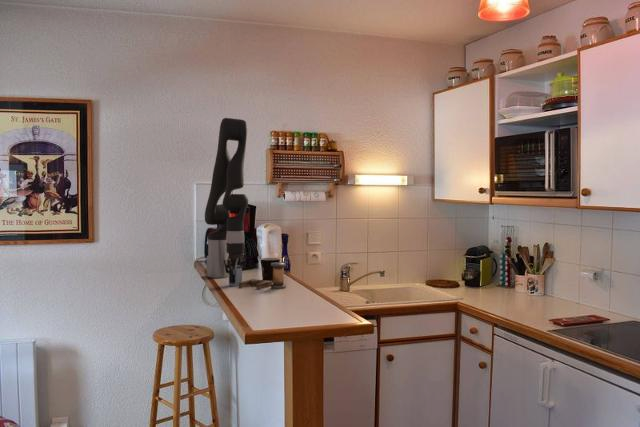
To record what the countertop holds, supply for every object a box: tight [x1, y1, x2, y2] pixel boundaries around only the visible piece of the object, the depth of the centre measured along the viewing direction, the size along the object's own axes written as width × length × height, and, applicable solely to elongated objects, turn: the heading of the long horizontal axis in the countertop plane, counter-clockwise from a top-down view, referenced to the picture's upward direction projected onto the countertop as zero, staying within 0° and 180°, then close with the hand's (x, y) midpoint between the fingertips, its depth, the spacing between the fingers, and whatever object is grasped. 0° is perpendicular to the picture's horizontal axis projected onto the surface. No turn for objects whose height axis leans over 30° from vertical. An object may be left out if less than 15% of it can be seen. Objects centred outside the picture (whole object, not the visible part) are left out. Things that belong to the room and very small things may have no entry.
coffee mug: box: [260, 257, 281, 284], centre depth 237 cm, size 12×9×10 cm
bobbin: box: [270, 261, 287, 290], centre depth 220 cm, size 6×6×10 cm
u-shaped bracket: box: [238, 278, 273, 290], centre depth 222 cm, size 10×10×2 cm
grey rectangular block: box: [228, 268, 243, 287], centre depth 225 cm, size 4×4×7 cm
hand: (235, 282), depth 225 cm, fingers closed on grey rectangular block, 4 cm apart
